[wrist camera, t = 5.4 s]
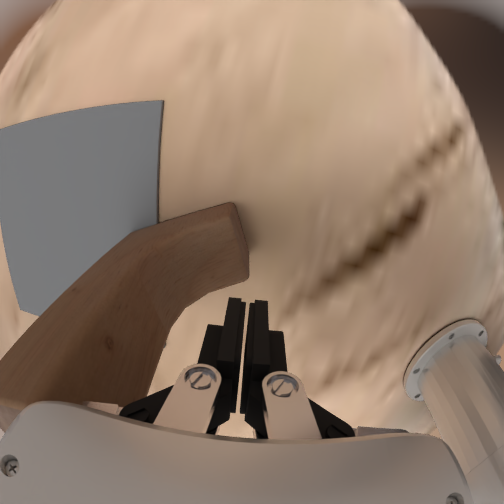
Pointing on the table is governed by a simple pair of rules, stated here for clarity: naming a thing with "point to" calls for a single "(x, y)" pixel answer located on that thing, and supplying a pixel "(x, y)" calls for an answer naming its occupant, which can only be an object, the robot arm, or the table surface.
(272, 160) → the table surface
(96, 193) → the mat
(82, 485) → the robot arm
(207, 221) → the wooden block
